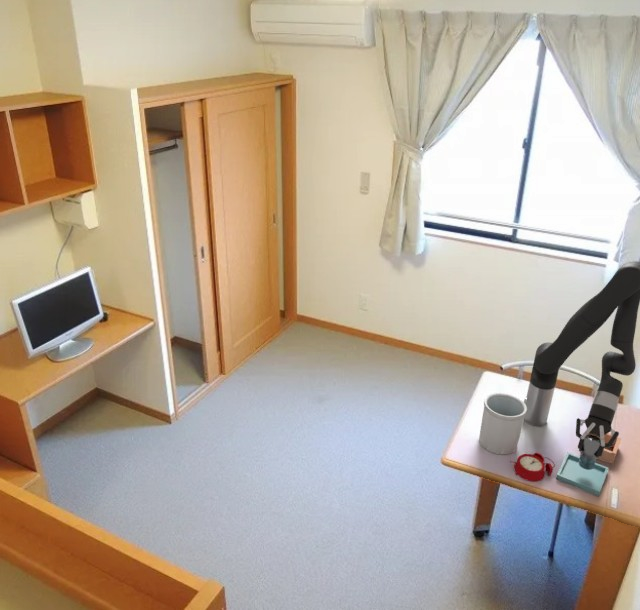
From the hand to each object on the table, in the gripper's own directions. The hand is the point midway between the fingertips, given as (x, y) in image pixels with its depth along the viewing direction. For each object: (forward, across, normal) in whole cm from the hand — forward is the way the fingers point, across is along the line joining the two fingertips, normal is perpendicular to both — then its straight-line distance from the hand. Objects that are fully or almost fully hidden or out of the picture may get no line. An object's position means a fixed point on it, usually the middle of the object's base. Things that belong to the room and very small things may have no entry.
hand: (588, 453), depth 199 cm
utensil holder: (+7, -30, +9) cm, 32 cm away
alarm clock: (+12, -15, +4) cm, 20 cm away
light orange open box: (-6, +2, +22) cm, 23 cm away
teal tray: (+7, 0, +9) cm, 11 cm away
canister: (+3, 0, +6) cm, 6 cm away
